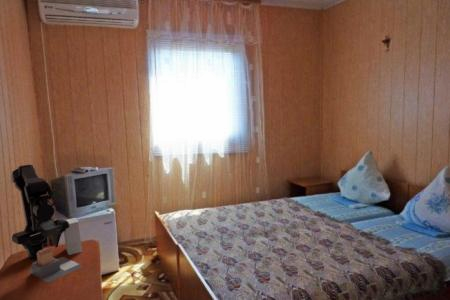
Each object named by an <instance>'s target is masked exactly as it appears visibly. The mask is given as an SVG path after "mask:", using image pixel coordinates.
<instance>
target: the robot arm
mask: <svg viewBox="0 0 450 300" xmlns="http://www.w3.org/2000/svg"><path fill="white" fill-rule="evenodd" d="M11 181H12V183H14V187H15V188H16V189H17V190H18V191H19V192H20V195H21V201H22V202H21V203H22V208H23V213H24V218H25V219H24V220H25V222H26V223H25V227H24V229H23V230H22V231H19V232H16V233H13V234H12V236H11V241H12V242H13V243H15V244H17V245H21V246H22V248H23V249H24V250H26V252H27V256H26V257H25V259H26V258H28V259H29V260H37V253H38V251H40V250H43V249H44V246H43V245H45V244H47V242H48V237H51V236H53V244H54V247H55V248H56V249H57V248H58V247H59V243H60V239H61V237H62V234H64V231H66V229H67V228H69V222H68V221H66V220H67V219H62V218H58V219H55V220H52V217H53V216H54V214H55V208H54V206H53V205H52V204H51V203H50V202H49V200H51V199H53V190H52V187H51V185H50V184H49V182H47V181H46V179H44V178H42V177H39V176H38V175H37V173H36V169H35V168H34V166H33V164H25V165H19V166H18V167H17V168H16V169H14V170H12V172H11Z"/></svg>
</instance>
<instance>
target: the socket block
mask: <svg viewBox="0 0 450 300" xmlns="http://www.w3.org/2000/svg"><path fill="white" fill-rule="evenodd" d="M31 266H32V267H31V269H30V270H27V273H30V274H32V275H33V276H35V277H37V278H38V279H39V280H42V281H44V282H45V283H47V284H48V283H50V282H53V281H55V280H57V279H59V278H62V277H63V276H66V275H68V274H70V273H72V272H74V271H77V270H79V269H80V268H81V269H82V268H83V267H84V266H83V265H81V264H80V263H78V262H75V261H74V260H71V259H69V258H67V257H65V256H62V257H61V256H60V257H58V258H55V257H54V256H53V262H51V263H48V264H46V265H44V266H41V265H39V264H38V260H36V261H34V262H32V263H31Z"/></svg>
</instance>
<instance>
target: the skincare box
mask: <svg viewBox="0 0 450 300" xmlns="http://www.w3.org/2000/svg"><path fill="white" fill-rule="evenodd" d="M65 220H66V221H68V222H69V228H67V229H66V231H64V232H63V234H64V243H65V250H66V254H68V256H70V255H71V256H72V255H75V254H80V253H83V247H82V241H81V240H82V239H81V231H80V225H79V220H78V218H77V217H73V218H69V219H65Z"/></svg>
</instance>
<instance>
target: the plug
mask: <svg viewBox="0 0 450 300" xmlns="http://www.w3.org/2000/svg"><path fill="white" fill-rule="evenodd" d="M53 257H54V254H53V251H52V250H51V249H50V248H48V247H45V248H43V250H40V251H38V253H37V259H36V261H38V264H39V265H41V266H44V265H46V264H48V263H51V262H53Z"/></svg>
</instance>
